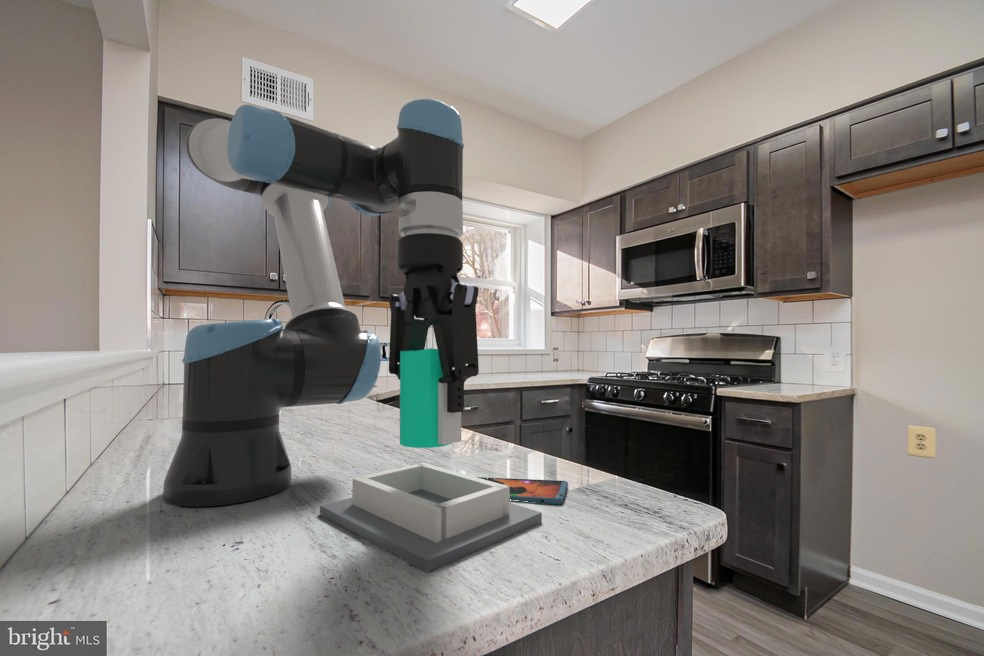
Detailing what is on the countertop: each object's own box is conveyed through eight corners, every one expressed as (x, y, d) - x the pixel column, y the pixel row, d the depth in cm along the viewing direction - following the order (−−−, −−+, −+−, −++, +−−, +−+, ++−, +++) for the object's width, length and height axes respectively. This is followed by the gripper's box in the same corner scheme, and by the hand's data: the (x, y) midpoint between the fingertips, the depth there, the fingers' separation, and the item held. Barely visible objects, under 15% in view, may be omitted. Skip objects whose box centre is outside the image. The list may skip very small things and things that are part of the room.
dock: (320, 514, 53) (320, 479, 53) (428, 484, 64) (429, 456, 65) (427, 572, 39) (428, 524, 39) (541, 521, 51) (541, 485, 51)
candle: (458, 445, 50) (457, 335, 50) (402, 449, 48) (402, 335, 49) (447, 436, 55) (447, 337, 56) (397, 439, 54) (398, 337, 54)
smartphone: (466, 476, 68) (568, 480, 64) (466, 485, 68) (568, 490, 64) (447, 490, 60) (562, 496, 56) (447, 501, 60) (562, 507, 56)
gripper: (359, 246, 57) (357, 433, 56) (462, 214, 44) (462, 456, 43) (408, 255, 63) (407, 426, 61) (512, 229, 50) (514, 444, 48)
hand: (430, 438), depth 52 cm, fingers closed on candle, 6 cm apart
